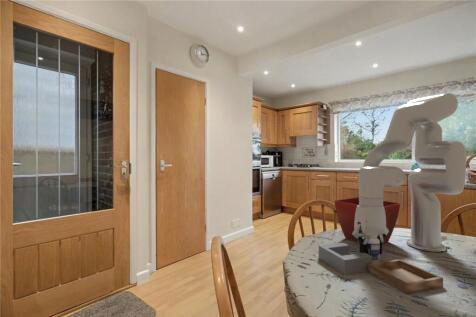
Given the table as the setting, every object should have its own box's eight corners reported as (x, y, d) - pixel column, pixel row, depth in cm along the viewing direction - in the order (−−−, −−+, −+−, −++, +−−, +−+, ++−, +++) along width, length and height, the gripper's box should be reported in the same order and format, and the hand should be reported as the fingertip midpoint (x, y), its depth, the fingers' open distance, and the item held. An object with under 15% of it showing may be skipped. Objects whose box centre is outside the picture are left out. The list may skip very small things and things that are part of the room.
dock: (342, 254, 89) (343, 242, 89) (372, 270, 76) (372, 256, 76) (318, 258, 86) (318, 245, 86) (344, 274, 73) (344, 260, 73)
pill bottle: (358, 257, 87) (359, 229, 87) (373, 256, 87) (373, 229, 87) (368, 263, 82) (368, 234, 82) (383, 262, 82) (383, 234, 82)
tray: (399, 266, 79) (399, 259, 79) (443, 286, 67) (443, 277, 67) (367, 272, 75) (367, 264, 75) (407, 294, 63) (407, 284, 63)
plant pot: (375, 251, 92) (375, 207, 92) (333, 237, 108) (333, 200, 108) (401, 242, 102) (401, 203, 102) (358, 231, 118) (358, 196, 118)
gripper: (380, 199, 91) (380, 247, 91) (343, 201, 86) (342, 252, 86) (399, 202, 83) (399, 255, 83) (359, 205, 78) (359, 261, 78)
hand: (370, 253), depth 84 cm, fingers closed on pill bottle, 5 cm apart
